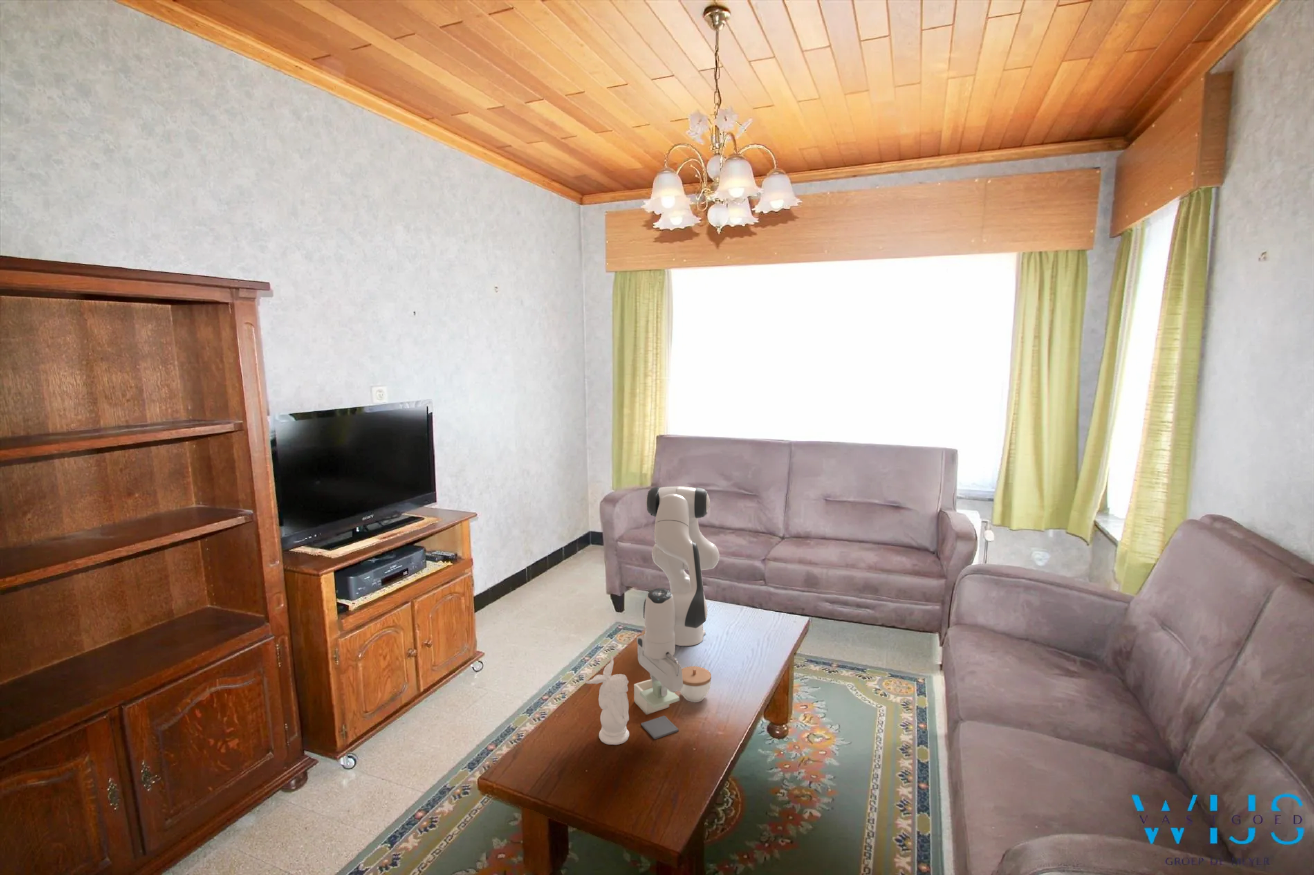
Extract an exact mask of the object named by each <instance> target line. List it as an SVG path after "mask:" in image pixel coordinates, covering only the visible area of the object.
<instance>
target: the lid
mask: <svg viewBox="0 0 1314 875" xmlns="http://www.w3.org/2000/svg"><path fill="white" fill-rule="evenodd" d="M661 688H662V686H661V683H660V682H659V681H655V682H653V688H651V689H647V690H644V691H641V692H640V695H641V696H642V697H643V698H644V699H645V700H646V701H647V702H648V703H649V704H650V705H651V706H652V707H653V708H654V709H655V708H658V707H661V706H664V705H667V704H669V705H670V704H673V703H676V702H679V701H680V696H678V695H677V694H676V693H675V692H671V691H669V690H667V695H666V696H661V695H660V689H661Z"/></svg>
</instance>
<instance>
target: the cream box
mask: <svg viewBox="0 0 1314 875" xmlns="http://www.w3.org/2000/svg"><path fill="white" fill-rule="evenodd" d="M633 688H634V689H633V690H634V691H633V694H634V695H633V698H634V702H633V703H635V704H636V705H637V706H638V708H640V709H641V711H642V712H643V713H644V714H645V715H650V714H653V713H655V712H659V711H662V710H664V709H665V710H666V709H667V708H670V704H667V705H664V706H661V707H658V708H655V709H654V708H653V707H652V706H651V705H650V704H649V703H648V702H647V701H646V700H645V699H644V698H643V697H642V696H641V695H640V692H641V691H644V690H647V689H651V688H653V687H652V680H651V678H650V679H646V680H643V681H640V682H637V683H634V684H633Z"/></svg>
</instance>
